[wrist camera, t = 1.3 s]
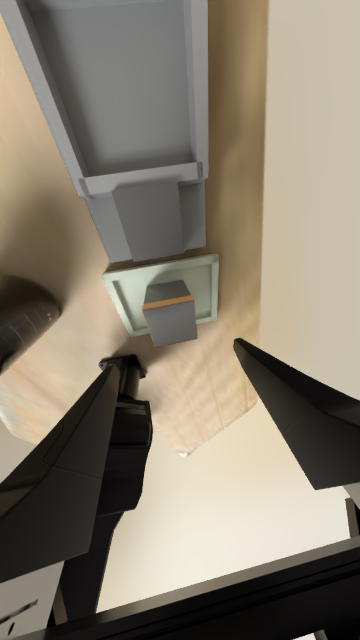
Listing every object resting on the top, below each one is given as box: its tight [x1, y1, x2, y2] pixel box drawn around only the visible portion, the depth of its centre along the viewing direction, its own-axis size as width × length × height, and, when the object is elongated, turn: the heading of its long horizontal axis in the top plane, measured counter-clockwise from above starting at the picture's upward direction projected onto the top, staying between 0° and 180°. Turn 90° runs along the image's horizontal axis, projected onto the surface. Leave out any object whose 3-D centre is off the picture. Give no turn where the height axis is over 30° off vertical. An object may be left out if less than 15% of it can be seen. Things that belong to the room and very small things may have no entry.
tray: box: [101, 253, 219, 337], centre depth 18 cm, size 9×13×1 cm
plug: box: [142, 280, 197, 347], centre depth 15 cm, size 5×5×6 cm
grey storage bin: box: [0, 0, 209, 263], centre depth 10 cm, size 12×10×4 cm
